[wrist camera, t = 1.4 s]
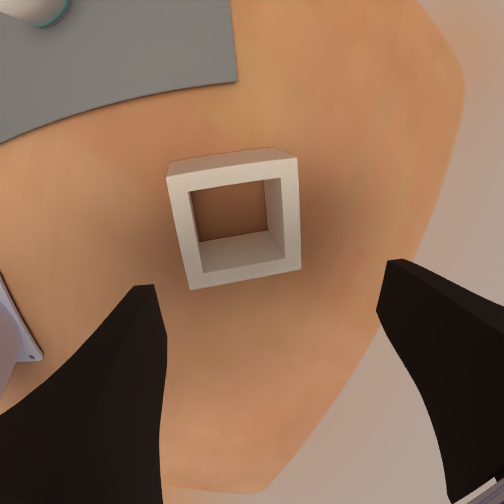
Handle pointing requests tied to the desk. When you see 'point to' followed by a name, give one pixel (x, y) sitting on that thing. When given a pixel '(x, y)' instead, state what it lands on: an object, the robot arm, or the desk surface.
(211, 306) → the desk surface
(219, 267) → the collar
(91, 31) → the shaft board
